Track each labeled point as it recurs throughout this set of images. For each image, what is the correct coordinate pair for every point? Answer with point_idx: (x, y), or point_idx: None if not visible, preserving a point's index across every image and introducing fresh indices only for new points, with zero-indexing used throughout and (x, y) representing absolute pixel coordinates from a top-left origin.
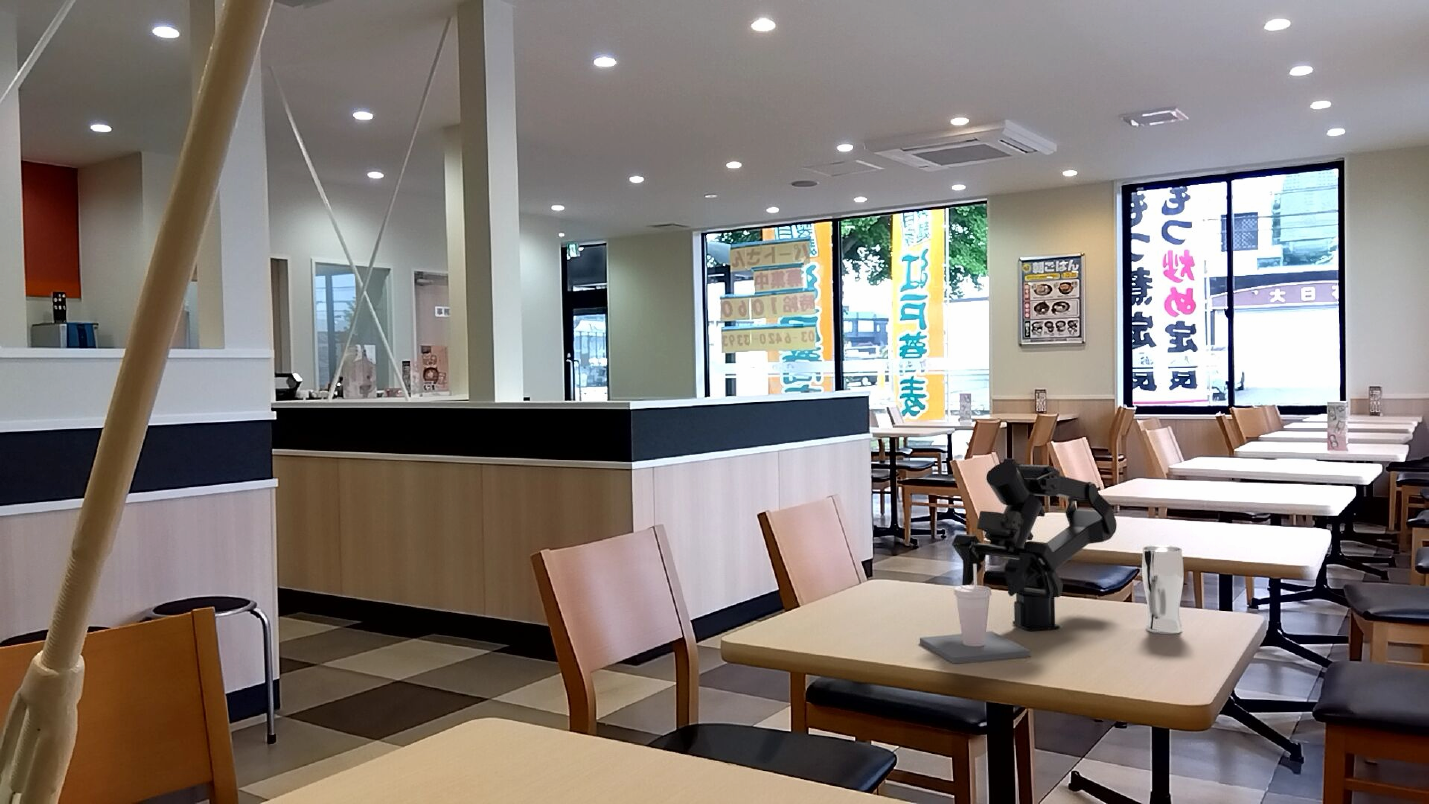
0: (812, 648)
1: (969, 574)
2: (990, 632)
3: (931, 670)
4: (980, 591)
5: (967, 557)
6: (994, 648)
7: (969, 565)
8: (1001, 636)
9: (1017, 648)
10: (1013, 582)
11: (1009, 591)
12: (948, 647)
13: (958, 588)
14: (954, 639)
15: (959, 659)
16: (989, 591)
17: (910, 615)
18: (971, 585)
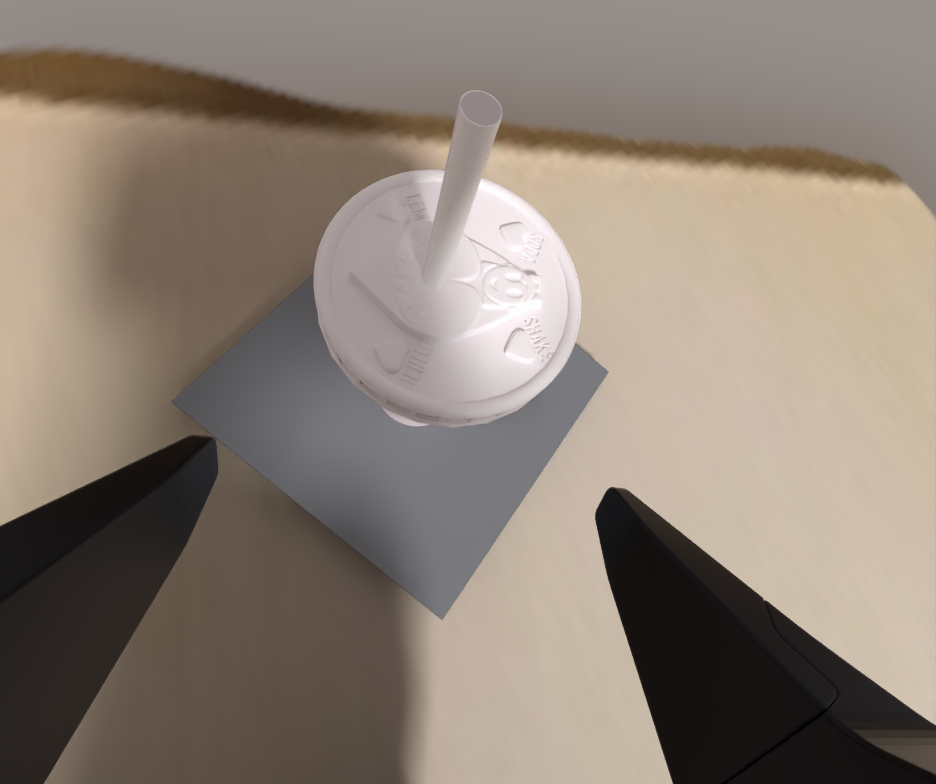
0: (766, 205)
1: (668, 599)
2: (437, 594)
3: (422, 134)
4: (369, 230)
5: (906, 749)
6: (321, 362)
7: (754, 657)
8: (367, 554)
9: (234, 404)
10: (117, 486)
11: (192, 435)
12: None
13: (546, 263)
14: None
15: None
16: (314, 273)
17: None
18: (518, 387)
